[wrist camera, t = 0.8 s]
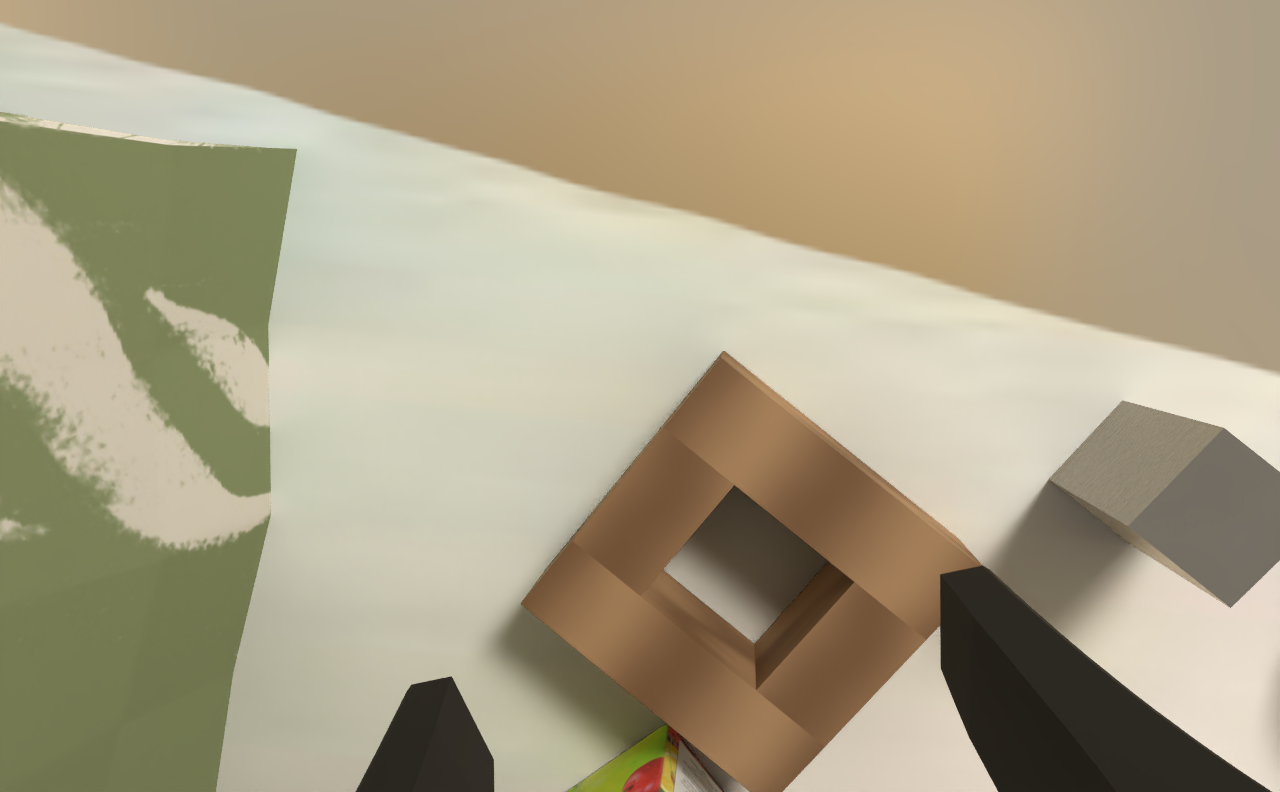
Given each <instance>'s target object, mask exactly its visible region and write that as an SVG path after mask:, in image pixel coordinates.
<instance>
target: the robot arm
mask: <svg viewBox="0 0 1280 792" xmlns="http://www.w3.org/2000/svg"><path fill="white" fill-rule="evenodd" d="M940 632H941V670H942V672H943V675H944V677H945V680H946V682H947V685H948V687H949V690H950V692H951V695H952V697H953V700H954V702H955V705H956V707H957V710H958V712H959V714H960V717H961V719H962V721H963V724H964V726H965V728H966V731H967V733H968V736H969V738H970V740H971V742H972V743H973V745H974V747H975V749H976V751H977V753H978V755H979V757H980V758H981V760H982V762H983V764H984V766H985V768H986V770H987V771H988V773H989V775H990V777H991V779H992V781H993V783H994V784H995V786H996V788H997V790H998V792H1271V791H1270V790H1268V789H1267V788H1265V787H1264V786H1262V785H1261V784H1259V783H1258V782H1256V781H1255V780H1253V779H1252V778H1250V777H1249V776H1247V775H1246V774H1244V773H1243V772H1241V771H1240V770H1238V769H1237V768H1235V767H1234V766H1232V765H1231V764H1229V763H1228V762H1227V761H1225V760H1224V759H1222V758H1221V757H1219V756H1218V755H1216V754H1215V753H1214V752H1212V751H1211V750H1209V749H1208V748H1207V747H1205V746H1204V745H1202V744H1201V743H1200V742H1198V741H1197V740H1195V739H1194V738H1193V737H1191V736H1190V735H1189V734H1187V733H1186V732H1184V731H1183V730H1182V729H1180V728H1179V727H1178V726H1176V725H1175V724H1174V723H1172V722H1171V721H1170V720H1168V719H1167V718H1166V717H1164V716H1163V715H1161V714H1160V713H1159V712H1157V711H1156V710H1155V709H1153V708H1152V707H1151V706H1150V705H1148V704H1147V703H1146V702H1144V701H1143V700H1142V699H1140V698H1139V697H1138V696H1137V695H1135V694H1134V693H1133V692H1131V691H1130V690H1129V689H1128V688H1126V687H1125V686H1124V685H1123V684H1121V683H1120V682H1119V681H1118V680H1116V679H1115V678H1114V677H1113V676H1111V675H1110V674H1109V673H1108V672H1107V671H1105V670H1104V669H1103V668H1102V667H1100V666H1099V665H1098V664H1097V663H1095V662H1094V661H1093V660H1092V659H1090V658H1089V657H1088V656H1087V655H1086V654H1084V653H1083V652H1082V651H1081V650H1080V649H1078V648H1077V647H1076V646H1075V645H1074V644H1072V643H1071V642H1070V641H1069V640H1068V639H1066V638H1065V637H1064V636H1063V635H1062V634H1061V633H1060V632H1058V631H1057V630H1056V629H1055V628H1054V627H1053V626H1051V625H1050V624H1049V623H1048V622H1047V621H1046V620H1045V619H1043V618H1042V617H1041V616H1040V615H1039V614H1038V613H1037V612H1035V611H1034V610H1033V609H1032V608H1031V607H1030V606H1029V605H1028V604H1027V603H1025V602H1024V601H1023V600H1022V599H1021V598H1020V597H1019V596H1018V595H1017V594H1015V593H1014V592H1013V591H1012V590H1011V589H1010V588H1009V587H1008V586H1007V585H1006V584H1005V583H1003V582H1002V581H1001V580H1000V579H999V578H998V577H997V576H996V575H995V574H994V573H993V572H992V571H990V570H989V569H988V568H986V567H984V566H983V565H982V566H977V567H973V568H968V569H963V570H958V571H953V572H949V573H944V574H940ZM356 792H494V759H493V757H492V755H491V753H490V751H489V749H488V747H487V745H486V743H485V741H484V739H483V737H482V735H481V734H480V732H479V730H478V728H477V726H476V724H475V722H474V720H473V718H472V716H471V714H470V712H469V710H468V708H467V706H466V704H465V702H464V700H463V698H462V696H461V694H460V692H459V690H458V688H457V686H456V684H455V682H454V680H453V678H452V676H451V677H446V678H442V679H437V680H432V681H427V682H422V683H418V684H413V685H411V686H410V688H409V689H408V690H407V692H406V694H405V696H404V698H403V700H402V702H401V704H400V706H399V708H398V710H397V712H396V714H395V716H394V718H393V720H392V722H391V724H390V726H389V728H388V730H387V732H386V734H385V736H384V738H383V740H382V742H381V744H380V746H379V748H378V750H377V752H376V754H375V756H374V758H373V759H372V761H371V763H370V765H369V767H368V769H367V771H366V773H365V775H364V777H363V779H362V781H361V783H360V785H359V786H358V788H357V790H356Z"/></svg>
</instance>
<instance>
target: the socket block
mask: <svg viewBox="0 0 1280 792" xmlns="http://www.w3.org/2000/svg"><path fill="white" fill-rule="evenodd" d="M734 485H735V486H736V487H738V488H739V489H740V490H741V491H742V492H744V493H745V494H746V495H747V496H749V497H750V498H751V499H752V500H754V501H755V502H756V503H757V504H759V505H760V506H761V507H762V508H764V509H765V510H766V511H767V512H769V513H770V514H771V515H772V516H773V517H775V518H776V519H777V520H778V521H780V522H781V523H782V524H783V525H785V526H786V527H787V528H788V529H790V530H791V531H792V532H793V533H795V534H796V535H797V536H798V537H799V538H801V539H802V540H803V541H804V542H806V543H807V544H808V545H809V546H811V547H812V548H813V549H814V550H816V551H817V552H818V553H819V554H821V555H822V556H823V557H824V558H825V559H827V560H828V561H829V562H828V563H827V564H826V565H825V566H824V567H823V568H822V570H821V571H820V572H819V573H818V574H817V575H816V576H815V577H814V578H813V580H812V581H811V582H810V583H809V584H808V585H807V586H806V587H805V588H804V590H803V591H802V592H801V593H800V594H799V595H798V596H797V597H796V599H795V600H794V601H793V602H792V603H791V604H790V605H789V606H788V607H787V609H786V610H785V611H784V612H783V613H782V614H781V615H780V616H779V618H778V619H777V620H776V621H775V622H774V623H773V624H772V625H771V626H770V628H769V629H768V630H767V631H766V632H765V633H764V634H763V635H762V637H761V638H760V639H759V640H758V641H757V642H756V643H755V644H754V643H752V642H751V641H750V640H749V639H747V638H746V637H745V636H744V635H743V634H741V633H740V632H739V631H738V630H736V629H735V628H734V627H733V626H731V625H730V624H729V623H728V622H727V621H725V620H724V619H723V618H722V617H720V616H719V615H718V614H717V613H715V612H714V611H713V610H712V609H711V608H709V607H708V606H707V605H706V604H704V603H703V602H702V601H701V600H699V599H698V598H697V597H696V596H695V595H693V594H692V593H691V592H690V591H688V590H687V589H686V588H685V587H683V586H682V585H681V584H680V583H679V582H677V581H676V580H675V579H674V578H672V577H671V576H670V575H669V574H667V573H666V572H665V571H664V570H663V569H664V567H665V566H666V565H667V564H668V563H669V562H670V560H671V559H672V558H673V557H674V556H675V554H676V553H677V552H678V551H679V550H680V549H681V547H682V546H683V545H684V544H685V543H686V542H687V540H688V539H689V538H690V537H691V536H692V534H693V533H694V532H695V531H696V530H697V529H698V527H699V526H700V525H701V524H702V523H703V521H704V520H705V519H706V518H707V517H708V516H709V514H710V513H711V512H712V511H713V510H714V509H715V507H716V506H717V505H718V504H719V503H720V501H721V500H722V499H723V498H724V497H725V496H726V494H727V493H728V492H729V491H730V490H731V488H732V487H733V486H734ZM977 566H982V565H981V563H980V562H979V561H978V560H977V559H976V558H975V557H974V556H973V554H972V553H971V552H970V551H969V550H968V549H967V548H966V547H965V545H964V544H963V543H962V542H961V541H960V540H959V539H958V538H957V537H956V536H954V535H953V534H952V533H951V532H949V531H948V530H947V529H946V528H944V527H943V526H942V525H941V524H939V523H938V522H937V521H936V520H934V519H933V518H932V517H931V516H929V515H928V514H927V513H926V512H924V511H923V510H922V509H921V508H919V507H918V506H917V505H916V504H914V503H913V502H912V501H911V500H909V499H908V498H907V497H906V496H904V495H903V494H902V493H901V492H899V491H898V490H897V489H896V488H895V487H893V486H892V485H891V484H890V483H888V482H887V481H886V480H885V479H883V478H882V477H881V476H880V475H878V474H877V473H876V472H875V471H873V470H872V469H871V468H870V467H868V466H867V465H866V464H865V463H863V462H862V461H861V460H860V459H858V458H857V457H856V456H855V455H853V454H852V453H851V452H850V451H848V450H847V449H846V448H845V447H843V446H842V445H841V444H840V443H838V442H837V441H836V440H835V439H833V438H832V437H831V436H830V435H828V434H827V433H826V432H825V431H823V430H822V429H821V428H820V427H819V426H817V425H816V424H815V423H814V422H812V421H811V420H810V419H809V418H807V417H806V416H805V415H804V414H802V413H801V412H800V411H799V410H797V409H796V408H795V407H794V406H792V405H791V404H790V403H789V402H787V401H786V400H785V399H784V398H782V397H781V396H780V395H779V394H777V393H776V392H775V391H774V390H772V389H771V388H770V387H769V386H767V385H766V384H765V383H764V382H762V381H761V380H760V379H759V378H757V377H756V376H755V375H754V374H752V373H751V372H750V371H749V370H747V369H746V368H745V367H744V366H742V365H741V364H740V363H739V362H738V361H736V360H735V359H734V358H733V357H731V356H730V355H729V354H728V353H726V352H725V351H723V352H722V353H721V355H720V356H719V357H718V358H717V359H716V361H715V362H714V363H713V364H712V366H711V367H710V368H709V369H708V371H707V372H706V373H705V374H704V375H703V377H702V378H701V379H700V380H699V382H698V383H697V384H696V385H695V387H694V388H693V389H692V390H691V391H690V393H689V394H688V395H687V396H686V398H685V399H684V400H683V401H682V403H681V404H680V405H679V406H678V407H677V409H676V410H675V411H674V412H673V414H672V415H671V416H670V417H669V418H668V420H667V421H666V422H665V423H664V425H663V426H662V427H661V428H660V430H659V431H658V432H657V433H656V434H655V436H654V437H653V438H652V439H651V441H650V442H649V443H648V444H647V446H646V447H645V448H644V449H643V450H642V452H641V453H640V454H639V455H638V457H637V458H636V459H635V460H634V462H633V463H632V464H631V465H630V466H629V468H628V469H627V470H626V471H625V473H624V474H623V475H622V476H621V478H620V479H619V480H618V481H617V482H616V484H615V485H614V486H613V487H612V489H611V490H610V491H609V492H608V494H607V495H606V496H605V497H604V498H603V500H602V501H601V502H600V503H599V505H598V506H597V507H596V508H595V509H594V511H593V512H592V513H591V514H590V516H589V517H588V518H587V519H586V521H585V522H584V523H583V524H582V525H581V527H580V528H579V529H578V530H577V532H576V533H575V534H574V535H573V537H572V538H571V539H570V540H569V541H568V543H567V544H566V545H565V546H564V548H563V549H562V550H561V551H560V553H559V554H558V555H557V556H556V557H555V559H554V560H553V561H552V562H551V564H550V565H549V566H548V567H547V569H546V570H545V571H544V573H543V574H542V575H541V577H540V578H539V579H538V581H537V582H536V584H535V585H534V586H533V588H532V589H531V590H530V592H529V593H528V595H527V596H526V597H525V599H524V600H523V602H522V603H521V605H522V606H524V607H525V608H526V609H527V610H529V611H530V612H531V613H532V614H533V615H535V616H536V617H537V618H538V619H540V620H541V621H542V622H543V623H544V624H546V625H547V626H548V627H549V628H551V629H552V630H553V631H554V632H555V633H557V634H558V635H559V636H560V637H562V638H563V639H564V640H565V641H566V642H568V643H569V644H570V645H571V646H573V647H574V648H575V649H576V650H577V651H579V652H580V653H581V654H582V655H584V656H585V657H586V658H587V659H588V660H590V661H591V662H592V663H593V664H595V665H596V666H597V667H598V668H599V669H601V670H602V671H603V672H604V673H606V674H607V675H608V676H609V677H610V678H612V679H613V680H614V681H615V682H617V683H618V684H619V685H620V686H621V687H623V688H624V689H625V690H626V691H628V692H629V693H630V694H631V695H632V696H634V697H635V698H636V699H637V700H639V701H640V702H641V703H642V704H643V705H645V706H646V707H647V708H648V709H650V710H651V711H652V712H653V713H654V714H656V715H657V716H658V717H659V718H661V719H662V720H663V721H664V722H665V723H667V724H668V725H669V726H670V727H672V728H673V729H674V730H675V731H676V732H678V733H679V734H680V735H681V736H683V737H684V738H685V739H686V740H687V741H689V742H690V743H691V744H692V745H694V746H695V747H696V748H697V749H698V750H700V751H701V752H702V753H703V754H705V755H706V756H707V757H708V758H709V759H711V760H712V761H713V762H714V763H716V764H717V765H718V766H719V767H720V768H722V769H723V770H724V771H725V772H727V773H728V774H729V775H730V776H731V777H733V778H734V779H735V780H736V781H738V782H739V783H740V784H741V785H742V786H744V787H745V788H746V789H747V790H749V791H750V792H783V791H784V789H785V788H786V787H787V786H788V785H789V784H790V783H791V782H792V781H793V780H794V779H795V778H796V777H797V776H798V775H799V774H800V773H801V771H802V770H803V769H804V768H805V767H806V766H807V765H808V764H809V763H810V762H811V761H812V760H813V759H814V758H815V757H816V756H817V755H818V754H819V752H820V751H821V750H822V749H823V748H824V747H825V746H826V745H827V744H828V743H829V742H830V741H831V740H832V739H833V738H834V737H835V736H836V735H837V733H838V732H839V731H840V730H841V729H842V728H843V727H844V726H845V725H846V724H847V723H848V722H849V721H850V720H851V719H852V718H853V717H854V715H855V714H856V713H857V712H858V711H859V710H860V709H861V708H862V707H863V706H864V705H865V704H866V703H867V702H868V701H869V700H870V699H871V698H872V696H873V695H874V694H875V693H876V692H877V691H878V690H879V689H880V688H881V687H882V686H883V685H884V684H885V683H886V682H887V681H888V680H889V679H890V677H891V676H892V675H893V674H894V673H895V672H896V671H897V670H898V669H899V668H900V667H901V666H902V665H903V664H904V663H905V662H906V661H907V660H908V658H909V657H910V656H911V655H912V654H913V653H914V652H915V651H916V650H917V649H918V648H919V647H920V646H921V645H922V644H923V643H924V642H925V640H926V639H927V638H928V637H929V636H930V635H931V634H932V633H933V632H934V631H935V630H936V629H937V628H938V627H939V626H940V574H944V573H949V572H953V571H958V570H963V569H968V568H973V567H977Z"/></svg>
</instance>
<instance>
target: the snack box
mask: <svg viewBox="0 0 1280 792" xmlns="http://www.w3.org/2000/svg"><path fill="white" fill-rule="evenodd" d="M567 792H724V791H723V790H722V789H721V788H720V786H719V785H718V784H717V782H716V781H715V780H714V779H713V778H712V777H711V775H710V774H709V773H708V772H707V770H706V769H705V768H704V767H703V765H702V764H701V763H700V762H699V760H698V759H697V758H696V757H695V756H694V754H693V753H692V752H691V751H690V749H689V748H688V747H687V746H686V744H685V743H684V742H683V740H682V739H681V738H680V737H679V736H678V735H677V733H676V732H675V731H674V729H673V728H672V727H670V726H669V725H668V724H665V725H663V726H662V727H660V728H659V729H657V730H656V731H654V732H653V733H651V734H650V735H648V736H647V737H645V738H644V739H642V740H641V741H640V742H638V743H637V744H635V745H634V746H632V747H631V748H630V749H628V750H627V751H625V752H624V753H622V754H621V755H619V756H618V757H616V758H615V759H613V760H612V761H610V762H609V763H607V764H606V765H604V766H603V767H601V768H600V769H599V770H597V771H596V772H594V773H593V774H592V775H590V776H589V777H587V778H586V779H584V780H583V781H582V782H580V783H579V784H577V785H576V786H574V787H573V788H571V789H570V790H568V791H567Z"/></svg>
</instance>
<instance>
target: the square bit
mask: <svg viewBox="0 0 1280 792" xmlns="http://www.w3.org/2000/svg"><path fill="white" fill-rule="evenodd" d="M1049 480H1050V481H1052V482H1053V483H1054V484H1055V485H1057V486H1058V487H1059V488H1060V489H1062V490H1063V491H1064V492H1065V493H1067V494H1068V495H1069V496H1070V497H1072V498H1073V499H1074V500H1075V501H1077V502H1078V503H1079V504H1080V505H1082V506H1083V507H1084V508H1085V509H1087V510H1088V511H1089V512H1090V513H1092V514H1093V515H1094V516H1096V517H1097V518H1098V519H1099V520H1101V521H1102V522H1103V523H1104V524H1106V525H1107V526H1108V527H1109V528H1111V529H1112V530H1113V531H1114V532H1116V533H1117V534H1118V535H1119V536H1121V537H1122V538H1123V539H1124V540H1126V541H1127V542H1128V543H1129V544H1131V545H1132V546H1134V547H1135V548H1137V549H1139V550H1140V551H1142V552H1143V553H1145V554H1146V555H1148V556H1150V557H1151V558H1153V559H1154V560H1156V561H1157V562H1159V563H1161V564H1162V565H1164V566H1165V567H1167V568H1169V569H1170V570H1172V571H1173V572H1175V573H1176V574H1178V575H1180V576H1181V577H1183V578H1184V579H1186V580H1187V581H1189V582H1191V583H1192V584H1194V585H1195V586H1197V587H1198V588H1200V589H1202V590H1203V591H1205V592H1206V593H1208V594H1209V595H1211V596H1213V597H1214V598H1216V599H1217V600H1219V601H1220V602H1222V603H1224V604H1225V605H1227V606H1228V607H1230V608H1231V607H1232V606H1233V605H1234V604H1235V603H1236V602H1237V601H1238V600H1239V599H1240V598H1241V597H1242V596H1243V595H1244V594H1245V593H1246V592H1247V591H1249V590H1250V589H1251V588H1252V587H1253V586H1254V585H1255V584H1256V583H1257V582H1258V581H1259V580H1260V579H1261V578H1262V577H1263V576H1264V575H1265V574H1266V573H1267V572H1268V571H1269V570H1270V569H1271V568H1272V567H1273V566H1274V565H1275V564H1276V563H1277V562H1278V561H1279V560H1280V472H1279V471H1278V470H1276V469H1275V468H1274V467H1273V466H1271V465H1270V464H1269V463H1267V462H1266V461H1265V460H1264V459H1262V458H1261V457H1260V456H1259V455H1257V454H1256V453H1255V452H1254V451H1252V450H1251V449H1250V448H1249V447H1247V446H1246V445H1245V444H1243V443H1242V442H1241V441H1240V440H1238V439H1237V438H1236V437H1235V436H1233V435H1232V434H1231V433H1230V432H1228V431H1227V430H1226V429H1225V428H1222V427H1218V426H1215V425H1211V424H1207V423H1204V422H1200V421H1196V420H1193V419H1189V418H1185V417H1182V416H1178V415H1174V414H1170V413H1167V412H1163V411H1159V410H1156V409H1152V408H1148V407H1145V406H1141V405H1137V404H1134V403H1130V402H1126V401H1122V402H1121V403H1120V404H1119V405H1118V406H1117V407H1116V408H1115V409H1114V410H1113V411H1112V412H1111V414H1110V415H1109V416H1108V417H1107V418H1106V419H1105V420H1104V421H1103V422H1102V423H1101V424H1100V425H1099V426H1098V427H1097V428H1096V430H1095V431H1094V432H1093V433H1092V434H1091V435H1090V436H1089V437H1088V438H1087V439H1086V440H1085V441H1084V442H1083V443H1082V444H1081V446H1080V447H1079V448H1078V449H1077V450H1076V451H1075V452H1074V453H1073V454H1072V455H1071V456H1070V457H1069V458H1068V459H1067V460H1066V462H1065V463H1064V464H1063V465H1062V466H1061V467H1060V468H1059V469H1058V470H1057V471H1056V472H1055V473H1054V474H1053V475H1052V476H1051V478H1050V479H1049Z"/></svg>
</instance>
